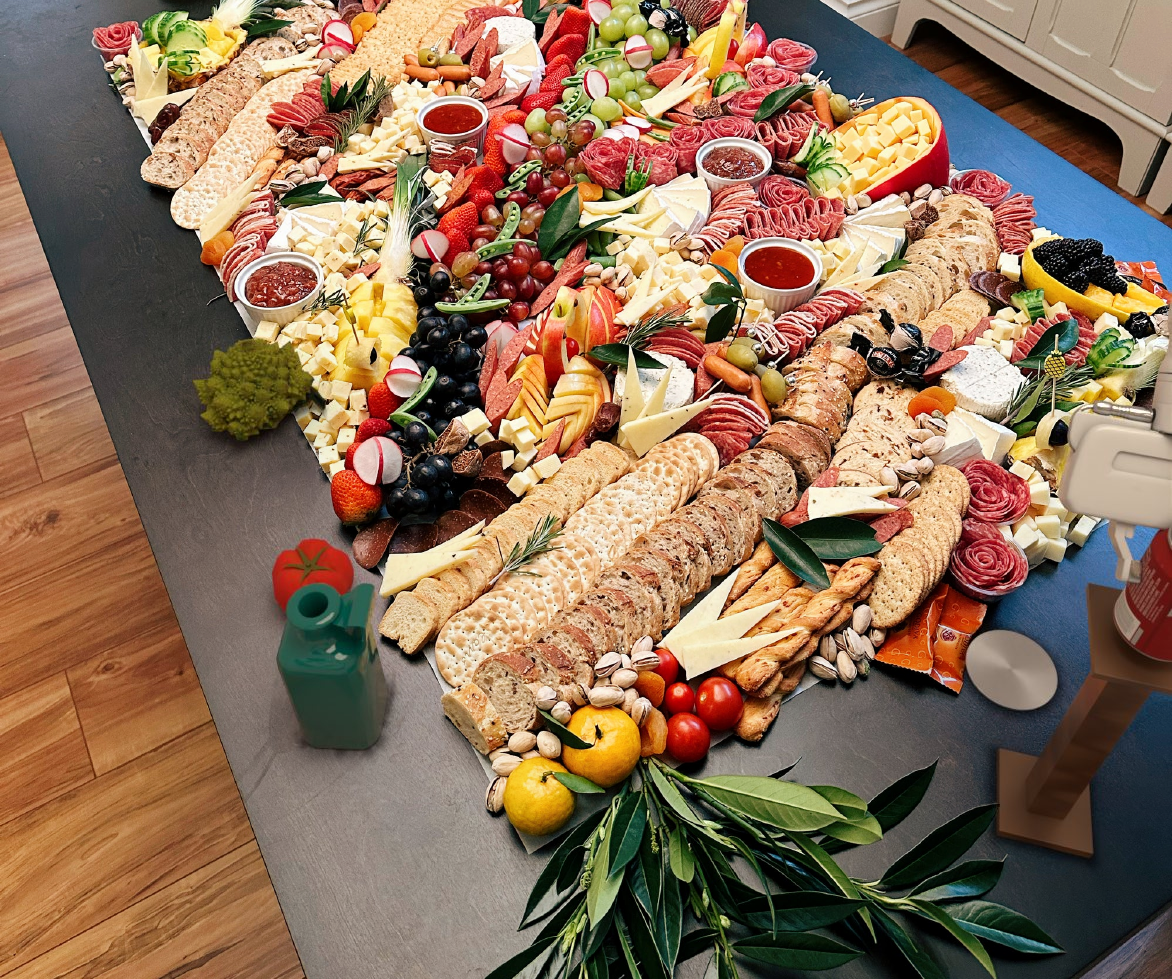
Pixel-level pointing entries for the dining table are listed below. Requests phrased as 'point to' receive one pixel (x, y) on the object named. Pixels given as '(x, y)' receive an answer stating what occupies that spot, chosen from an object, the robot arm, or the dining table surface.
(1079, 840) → the walnut stand
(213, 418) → the vegetable
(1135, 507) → the robot arm
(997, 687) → the steel plate
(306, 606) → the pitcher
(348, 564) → the tomato
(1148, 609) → the soda can
